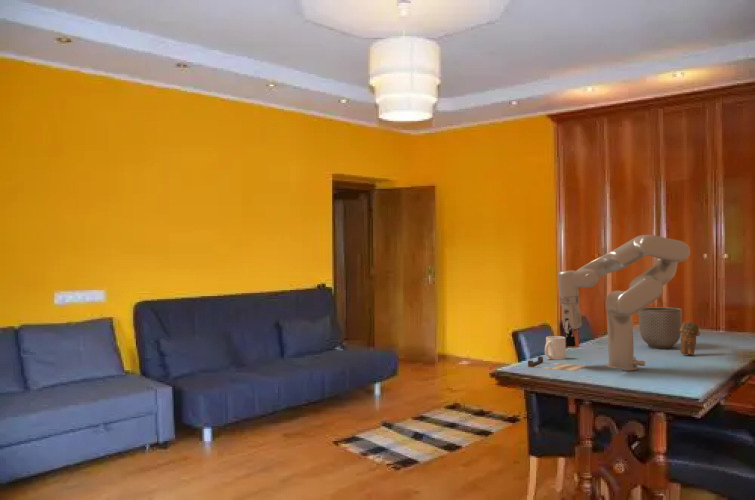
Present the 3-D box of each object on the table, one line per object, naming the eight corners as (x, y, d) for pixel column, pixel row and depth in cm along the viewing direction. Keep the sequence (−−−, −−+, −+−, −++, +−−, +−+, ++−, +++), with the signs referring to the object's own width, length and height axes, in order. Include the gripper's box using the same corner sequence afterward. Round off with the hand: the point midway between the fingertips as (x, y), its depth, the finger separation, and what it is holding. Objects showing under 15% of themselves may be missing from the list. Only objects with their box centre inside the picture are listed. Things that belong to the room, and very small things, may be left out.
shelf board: (586, 368, 251) (586, 359, 251) (576, 374, 241) (575, 364, 241) (539, 364, 263) (539, 356, 263) (527, 369, 253) (527, 360, 253)
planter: (690, 350, 291) (689, 309, 292) (649, 351, 292) (647, 310, 292) (671, 344, 311) (670, 306, 311) (632, 345, 311) (631, 307, 312)
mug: (553, 363, 265) (552, 339, 265) (537, 361, 271) (536, 338, 271) (569, 360, 272) (569, 337, 272) (554, 358, 279) (553, 335, 279)
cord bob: (580, 346, 252) (579, 329, 252) (577, 348, 248) (575, 330, 248) (569, 346, 254) (568, 329, 254) (566, 347, 251) (564, 330, 251)
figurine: (680, 356, 275) (679, 322, 276) (679, 353, 283) (678, 320, 283) (702, 356, 272) (700, 323, 272) (700, 354, 280) (698, 321, 280)
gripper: (571, 302, 242) (575, 348, 242) (585, 298, 256) (589, 342, 256) (553, 303, 247) (557, 348, 246) (567, 299, 260) (571, 342, 260)
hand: (573, 344), depth 251 cm, fingers closed on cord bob, 4 cm apart
